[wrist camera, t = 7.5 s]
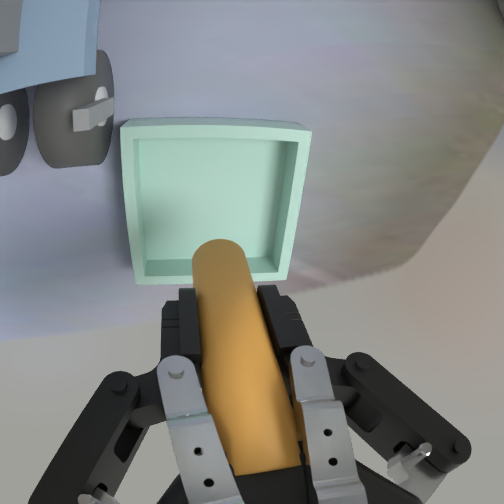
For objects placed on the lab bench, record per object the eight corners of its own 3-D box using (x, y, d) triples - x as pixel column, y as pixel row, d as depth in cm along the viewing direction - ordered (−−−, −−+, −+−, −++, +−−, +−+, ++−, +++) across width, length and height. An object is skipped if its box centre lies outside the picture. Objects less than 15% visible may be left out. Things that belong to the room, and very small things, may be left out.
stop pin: (247, 238, 16) (322, 457, 7) (243, 282, 17) (299, 482, 8) (191, 239, 15) (214, 474, 6) (192, 284, 17) (215, 494, 8)
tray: (297, 122, 21) (311, 131, 19) (277, 258, 28) (286, 279, 25) (129, 119, 19) (120, 127, 16) (139, 262, 25) (135, 284, 23)
